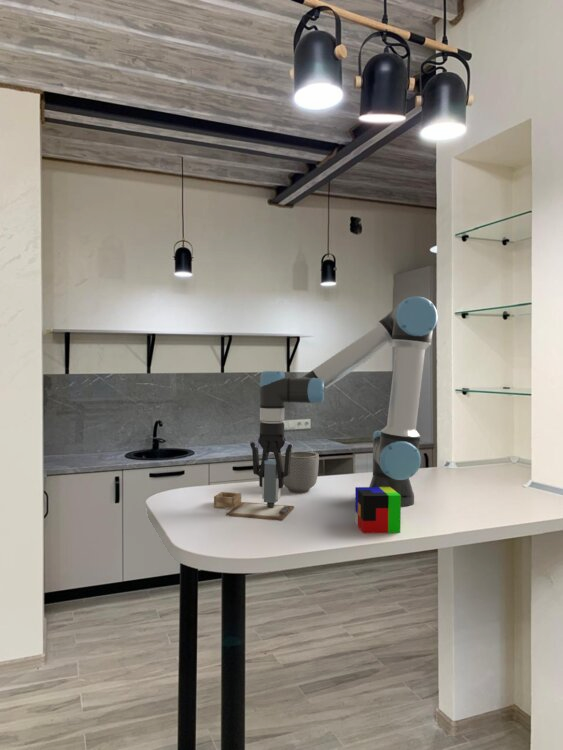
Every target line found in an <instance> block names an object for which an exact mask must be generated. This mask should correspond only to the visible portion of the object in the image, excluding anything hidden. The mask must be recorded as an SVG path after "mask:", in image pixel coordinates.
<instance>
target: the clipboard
mask: <svg viewBox="0 0 563 750" xmlns="http://www.w3.org/2000/svg"><path fill="white" fill-rule="evenodd" d="M294 508H295V505H288V504H287V505H286V504H274V507H267V503H262V502H261V503H259V502H247V501H241V503H240V504H239V505H237V506H236V507H235V508H233V509H229V511H227V512H226V514H225V516H226V515H229V516H228V517H237V516H238V517H239V518H240V517H241V518H251V519H261V520H273V521H274V520H276V521H283V520H284V519H286V517H287V516H288V515H289V514H290V513H291V512H292V511H293V510H294Z"/></svg>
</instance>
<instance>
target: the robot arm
mask: <svg viewBox="0 0 563 750" xmlns="http://www.w3.org/2000/svg"><path fill="white" fill-rule="evenodd" d="M437 322H438V310H437V308H436V306H435V305H434V303H433V302H432V301H431V300H429V299H428V298H426V297H423V296H410V297H407V298H405V299H403V300H402V301H401V302H400V303H398V304H396V306H394V308H393V309H392V310H391V311H390V312H389V313H387V315H386V316H384V317H382V318H381V319H380V320H379V321H377V323H376V326H375V327H373V328H372V329H371V330H369V331H368V332H366V333H365V334H364V335H362V336H361V337H359V338H358V339H356V340H355V341H353V342H352V343H350V344H349V345H347V346H345V348H343V349H341V350H340V351H338V352H337V353H335V354H334V355H332V356H330V357H329V358H328V359H327V360H325V361H323V362H322V363H321V364H319V365H318V366H316V367H314V368H313V369H312V370H311V371H309V372H308V373H306V374H304V375H303V376H302V377H286V373H285V372H284V371H280V370H279V371H278V370H277V371H276V370H275V371H274V370H264V371H263V372H261V374H260V381H259V421H260V423H259V437H258V439H257V440H256V441H252V442H249V443H250V444H249V445H250V449H251V452H252V453H251V454H252V469H253V470H252V471H253V472H252V474H253V475H256V476H258V477H259V478H258V479H259V480H258V482H259V483H258V484H259V485H258V486H259V487H260V488H261V489H262V491H261V492H262V493H261V498H262V499H261V500H264V470H265V464H264V462H265V460H268V459H269V454H270V453H272V454H273V456H274V458H275V459H274V460H276V466H277V472H278V477H277V478H276V500H278V501H279V500H280V499H281V489H283V488H284V485H283V484H284V477H286V476H288V475H289V474H290V463H291V451H292V450H293V449H294V443H292V442H291V443H290V442H289V441H287V440H286V437H285V423H284V421H285V409H286V408H285V403H297V404H298V403H301V404H302V403H303V404H305V403H306V404H319V403H320V404H322V403H323V402H324V399H325V389H328V388H329V387H330V386H332V385H333V384H335V383H337V381H340V380H342V378H344V377H346V376H347V375H349V374H350V373H351V372H353V371H355V370H356V369H358V368H359V367H360V366H362V365H364V364H365V363H367V362H368V361H369V360H371V359H373V358H374V357H376V356H377V355H378V354H380V353H381V352H383V351H385V350H386V349H387V348H389V347H393V348H395V352H394V362H393V368H392V369H393V371H392V379H391V387H390V396H389V404H388V413H387V421H386V422H387V423H386V426H385V427H384V428H382V429H380V430H375V431H374V432H373V435H372V436H373V437H372V476H371V477H372V478H371V481H370V482H369V486H368V487H391V488H392V489H394V490H395V491H396V492H397V493H399V494H400V495H401V507H406V506H410V505H413V504H414V503H415V493H414V491H413V486H412V483H411V480H410V478H412V477H413V476H415V475H416V474H417V472H418V471H419V469H420V467H421V462H422V458H421V453H420V444H421V434H420V433H419V431H417V424H418V413H419V407H420V405H419V404H420V397H421V396H420V395H421V389H422V380H423V373H424V370H423V369H424V364H425V355H426V353H425V352H426V350H427V349H428V348H429V347H430V346H432V340H433V333H434V331H433V330H434V329H435V328H436V326H437V324H438V323H437ZM259 446H260V447H261V448H262V453H261V454H262V458H261V460H260V456H259V455H260V454H259V453H260V452H259ZM283 446H284V449H285V452H286V453H285V466H284V472H283V465H282V459H281V453H282V451H281V449H282V448H283ZM260 461H261V462H260Z"/></svg>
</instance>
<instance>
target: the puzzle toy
mask: <svg viewBox="0 0 563 750" xmlns="http://www.w3.org/2000/svg"><path fill="white" fill-rule="evenodd" d="M354 496H355V497H354V499H355V500H354V509H355V511H354V523H355V524H356V526H357V527H358V528H359V529H360V531H361V532H362V533H363V534H391V533H392V534H393V533H394V534H396V533H399V534H401V523H402V522H401V515H402V512H401V511H402V510H401V509H402V506H401V495H400V494H399V493H397V492H396V491H395V490H394V489H392V488H391V487H369V486H358V487H357V486H356V487H355V494H354Z"/></svg>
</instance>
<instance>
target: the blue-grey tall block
mask: <svg viewBox="0 0 563 750" xmlns="http://www.w3.org/2000/svg"><path fill="white" fill-rule="evenodd" d="M264 464H265V470H264V499H263V503H266V504H267V507H274V505H275V503H277V502H278V501H279V499H278V500H276V478H277V477H278V472H277V466H276V460H275V459H271V458H268V460H265V462H264Z"/></svg>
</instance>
